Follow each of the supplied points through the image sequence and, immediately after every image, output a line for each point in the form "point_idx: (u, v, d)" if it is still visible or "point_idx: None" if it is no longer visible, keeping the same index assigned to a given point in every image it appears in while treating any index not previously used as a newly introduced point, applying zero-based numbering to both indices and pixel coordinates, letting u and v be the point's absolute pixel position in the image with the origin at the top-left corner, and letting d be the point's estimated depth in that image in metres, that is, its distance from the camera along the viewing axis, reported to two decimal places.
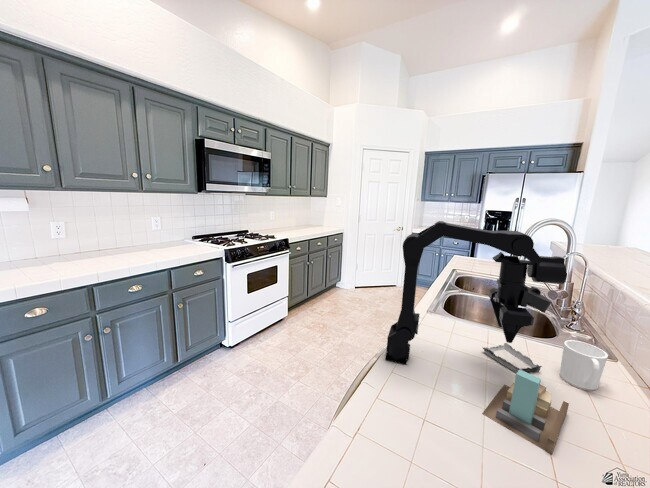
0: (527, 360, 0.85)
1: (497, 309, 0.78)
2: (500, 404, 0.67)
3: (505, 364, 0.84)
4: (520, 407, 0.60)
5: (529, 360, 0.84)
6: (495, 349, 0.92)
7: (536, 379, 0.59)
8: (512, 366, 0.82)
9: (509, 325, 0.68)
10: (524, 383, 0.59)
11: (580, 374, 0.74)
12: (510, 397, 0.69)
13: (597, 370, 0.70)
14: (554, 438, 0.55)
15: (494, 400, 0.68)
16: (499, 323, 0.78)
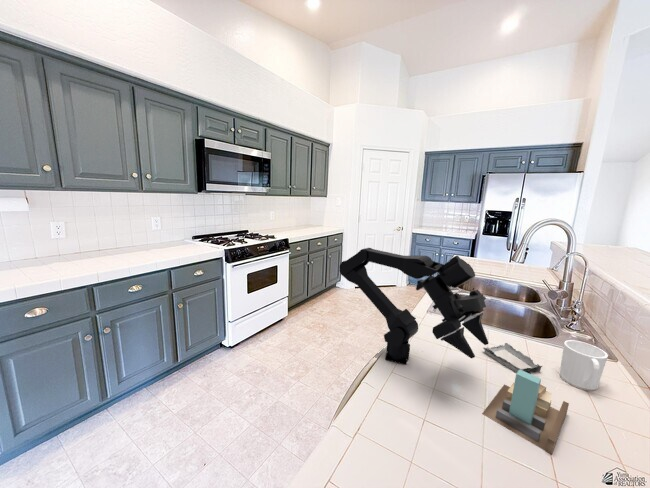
0: (528, 360, 0.85)
1: (470, 328, 0.74)
2: (500, 404, 0.67)
3: (506, 364, 0.84)
4: (520, 407, 0.60)
5: (530, 360, 0.84)
6: (496, 349, 0.92)
7: (536, 379, 0.59)
8: (513, 366, 0.82)
9: (455, 340, 0.67)
10: (524, 383, 0.59)
11: (580, 374, 0.74)
12: (510, 397, 0.69)
13: (597, 370, 0.70)
14: (554, 438, 0.55)
15: (494, 400, 0.68)
16: (482, 341, 0.72)
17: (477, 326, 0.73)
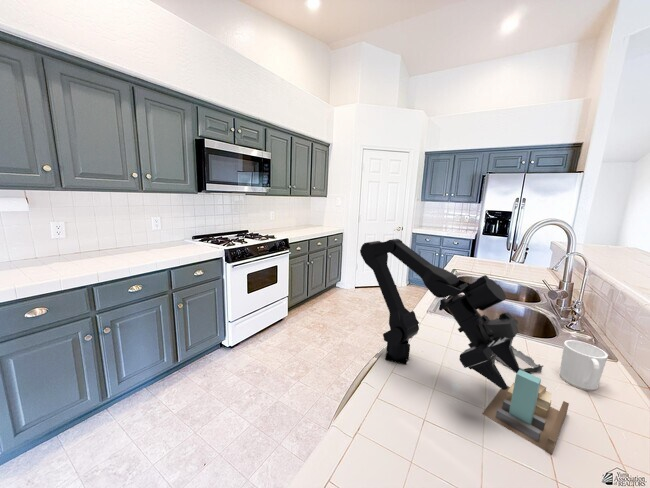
0: (529, 359, 0.85)
1: (499, 353, 0.68)
2: (500, 404, 0.67)
3: None
4: (520, 407, 0.60)
5: (531, 360, 0.84)
6: None
7: (536, 379, 0.59)
8: None
9: (485, 369, 0.61)
10: (524, 383, 0.59)
11: (580, 374, 0.74)
12: (510, 397, 0.69)
13: (597, 370, 0.70)
14: (554, 438, 0.55)
15: (494, 400, 0.68)
16: (513, 368, 0.66)
17: (507, 351, 0.66)
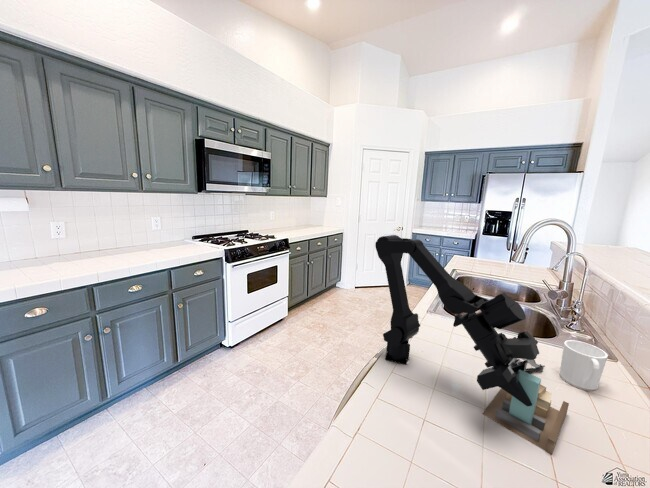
0: None
1: None
2: (500, 404, 0.67)
3: None
4: (520, 407, 0.60)
5: (532, 360, 0.85)
6: None
7: (536, 379, 0.59)
8: None
9: (508, 384, 0.60)
10: (524, 383, 0.59)
11: (580, 374, 0.74)
12: (510, 397, 0.69)
13: (597, 370, 0.70)
14: (554, 438, 0.55)
15: (494, 400, 0.68)
16: None
17: None
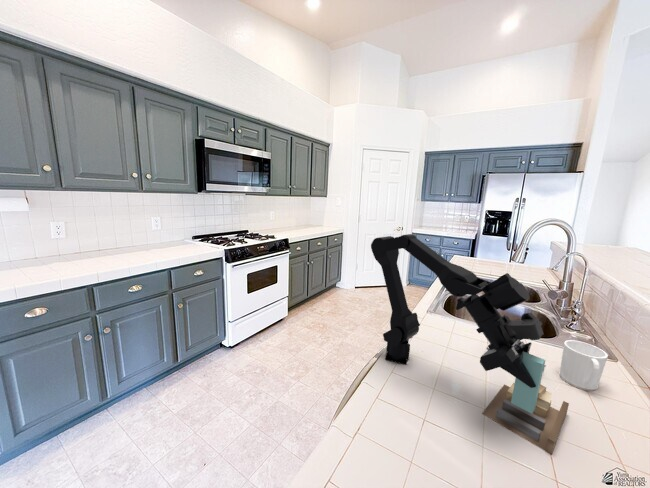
0: None
1: None
2: (500, 404, 0.67)
3: None
4: (524, 389, 0.59)
5: None
6: None
7: (540, 360, 0.58)
8: None
9: (512, 366, 0.59)
10: (528, 364, 0.58)
11: (580, 374, 0.74)
12: (510, 397, 0.69)
13: (597, 370, 0.70)
14: (554, 438, 0.55)
15: (494, 400, 0.68)
16: None
17: None
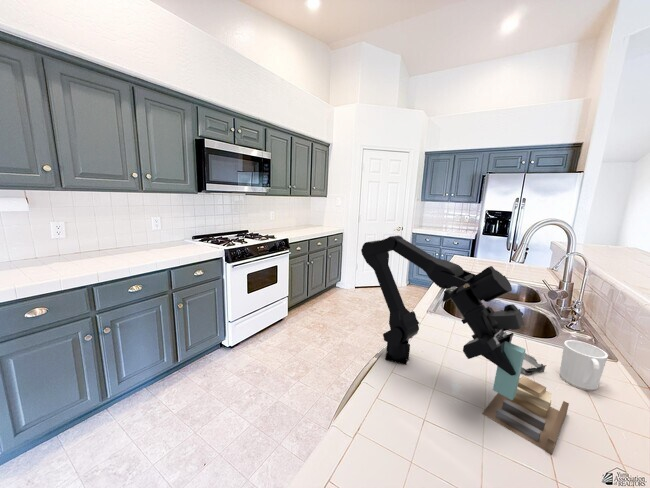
0: (531, 359, 0.85)
1: None
2: (500, 404, 0.67)
3: None
4: (505, 377, 0.62)
5: (533, 360, 0.85)
6: None
7: (521, 349, 0.60)
8: None
9: (493, 355, 0.62)
10: (509, 353, 0.61)
11: (580, 374, 0.74)
12: None
13: (597, 370, 0.70)
14: (554, 438, 0.55)
15: (494, 400, 0.68)
16: None
17: None
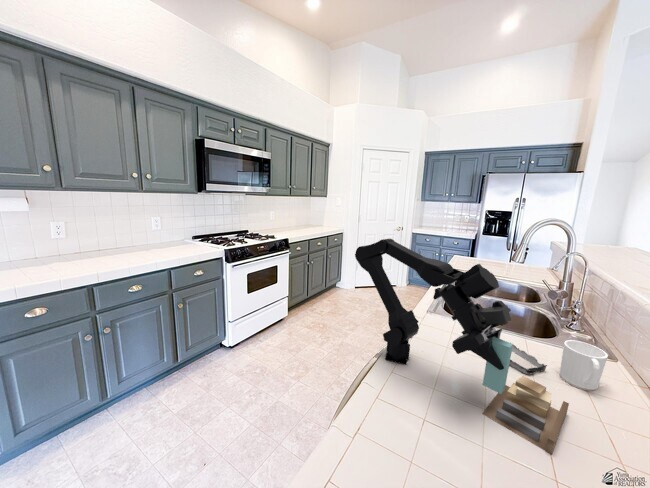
0: (532, 359, 0.85)
1: None
2: (500, 404, 0.67)
3: (511, 364, 0.84)
4: (493, 371, 0.64)
5: (534, 359, 0.85)
6: None
7: (508, 344, 0.62)
8: (518, 366, 0.82)
9: (482, 350, 0.64)
10: (497, 348, 0.63)
11: (580, 374, 0.74)
12: (510, 397, 0.69)
13: (597, 370, 0.70)
14: (554, 438, 0.55)
15: (494, 400, 0.68)
16: None
17: None
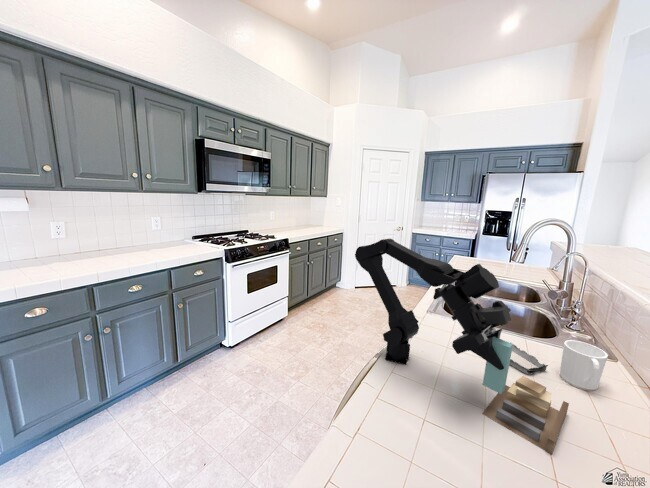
0: (533, 359, 0.85)
1: None
2: (500, 404, 0.67)
3: (512, 364, 0.84)
4: (493, 371, 0.64)
5: (535, 359, 0.85)
6: None
7: (508, 344, 0.62)
8: (519, 366, 0.82)
9: (482, 350, 0.64)
10: (497, 348, 0.63)
11: (580, 374, 0.74)
12: (510, 397, 0.69)
13: (597, 370, 0.70)
14: (554, 438, 0.55)
15: (494, 400, 0.68)
16: None
17: None
